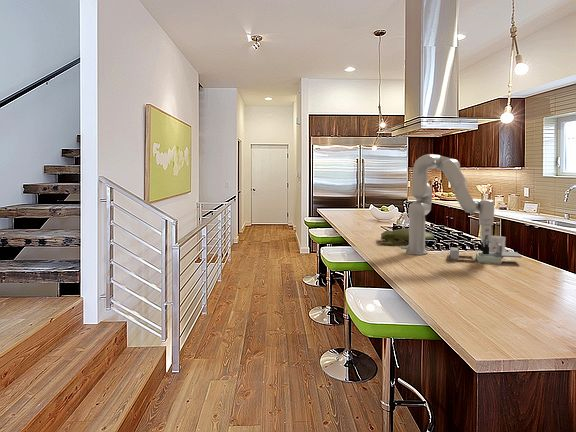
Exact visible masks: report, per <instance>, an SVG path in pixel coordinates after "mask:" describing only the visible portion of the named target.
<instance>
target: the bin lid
mask: <svg viewBox="0 0 576 432" xmlns="http://www.w3.org/2000/svg"><path fill="white" fill-rule="evenodd" d="M494 253H495V254H496V255H497V256H498V257H502V258H520V259H521V258H522V255H521V254H520V253H518V251H505V252H502V245H501V244H500V243H497V251H494Z"/></svg>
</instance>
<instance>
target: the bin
mask: <svg viewBox="0 0 576 432" xmlns="http://www.w3.org/2000/svg"><path fill="white" fill-rule="evenodd" d="M502 258H503V257H498V256H497V255H496V254H495V253H494V257H490V256H482V251H481V252H479V251H478V252H477V251H476V252H475V261H476V262H477V263H481V264H501V265H502Z"/></svg>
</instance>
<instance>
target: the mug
mask: <svg viewBox="0 0 576 432" xmlns="http://www.w3.org/2000/svg"><path fill="white" fill-rule="evenodd" d="M506 238H507V237H506V236H502V235H492V242H491V243H490V242H489V252H493V253H494V251H497V243H500V244H501V245H502V252H506Z"/></svg>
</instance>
